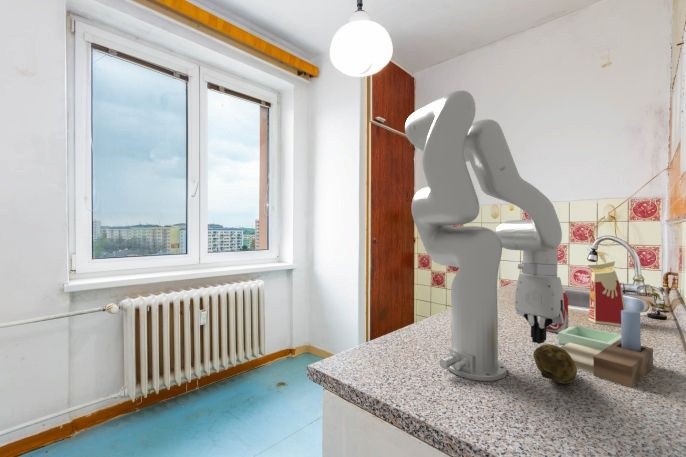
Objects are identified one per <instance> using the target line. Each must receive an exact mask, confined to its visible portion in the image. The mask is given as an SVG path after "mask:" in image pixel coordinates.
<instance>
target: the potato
mask: <svg viewBox="0 0 686 457" xmlns="http://www.w3.org/2000/svg"><path fill="white" fill-rule="evenodd" d="M560 347H561V346H557V345H555V344H549V343H545V344H542V345H541V344H540V346H538V347H536V348H535V349H534V351H533V354H532V356H533V359H534V362H535V365H536V368H537V369H538V370H539V371H540V376H542V377H543V379H549V380H551V381H553V382H554V383H557V384H563V385H565V384H570V383H573V382H574V381H575V379H576V378H577V374H578V368H576V365H575V363H574V361H573V359H572V358H571V356H570V355H569V354H568V353H567V352H566V350H564V349H562V348H560Z"/></svg>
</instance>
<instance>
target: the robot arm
mask: <svg viewBox="0 0 686 457" xmlns="http://www.w3.org/2000/svg"><path fill="white" fill-rule="evenodd" d="M475 117H476V102H475V99H474V96H473V95H472V94H471V93H470V92H469V91H467V90H455V91H452V92H449V93H447V94H445V95H443V96H441V97H439V98H436V100H433V101H432V102H430V103H428V104H426V105H424V106H423V107H421V108H419V109H418V110H416V111H414V112H413V113H411V114H410V115H409V116H408V118H407V119H406V121H405V125H404V134H405V136H406V138H407V140H408V141H409V142H410V143H411V144H412V145H413V146H415V148H417V149H419V150H420V151H422V152H423V153H422V159H421V161H422V170H423V173H424V176H425V179H426V182H427V185H428V186H425V187H423V188H421V189H420V188H419V190H418V191H416V193H415V194H414V195H413V197H412V202H411V216H412V220H413V221H414V224H415V227H416V229H417V232H418V234H419V237H420V240H421V242H422V245H423V247H424V249H425V252H426V253H427V255H428V257H429V258H430V259H431V261H433V262H434V263H435V264H438V265H441V266H445V267H454V268H458V270H457V272H456V274H455V276H454V277H453V280H452V282H451V287H450V304H451V306H450V314H451V316H450V317H451V319H450V321H451V323H450V324H451V327H450V328H451V348H449V354H448V355H446V356H445V357H444V358H441V359H440V360H439V366H440V367H441V368H442V369H448V370H449V371H450V372H451V373H452V374H455V375H456V376H459V377H460V378H461V377H462V378H464V379H469V380H472V381H473V380H474V381H481V382H492V381H493V382H494V381H498V380H501V379H503V378H504V377H505V376H507V366H506V364H504V363H503V362H502V361H501V360H499V333H498V331H499V328H498V326H499V324H498V323H499V320H498V314H499V313H498V311H499V310H498V279H499V278H498V277H499V269H500V268H499V267H500V263H501V260H502V253H503V249H505V250H511V251H521V252H522V251H523V252H522V262H521V263H518V264H517V269H519V270H521V272H522V273H519V274H518V276H517V277H518V278H517V281H516V286H515V293H514V309H515V310H516V311H515V312H516V313H515V314H516V315H519V316H521V317H522V318H524V319H525V320H526V321H527V322H528V325H529V327H530V337H531V340H532V341H531V342H532V343H535V344H538V345H541V344H543V343H545V342H546V341H547V330H546V329H547V327H548V326H549V325H551V324H561V323H563V322H564V320H563V314H564V297H563V291H564V290H563V285H562V284H563V283H562V280H561V277H560V276H558V251H559V250H558V249H559V246H560V245H561V243H562V240H563V239H562V238H563V231H562V227H561V226H562V225H561V223H560V220H559V218H558V214H557V212H556V209H555V207H554V205H553V203H552V202H551V200H550V199H549V198H548V197H547V196H546V195H545V194H544V193H543V192H542V191H541V190H539V189H538V188H536V186H534V185H533V184H532V183H530V182H528V181H526V180H524V179H523V178H522V176H521V175H520V173H519V170H518V168H517V165H516V163H515V161H514V158H513V155H512V153H511V149H510V148H509V145H508V142H507V139H506V136H505V134H504V132H503V129H502V127H501V125H500V124H499V123H498V121H496V120H494V119H480V120H477V121H475ZM467 162H469V163H470V165H471V167H472V170H473V173H474V175H475V178H476V179H477V182H478V184H479V187H480V190H481V191H482V192H483V193H484V194H486V195H487V196H488V197H489V196H490V197H493V198H495V199H498V200H501V201H502V202H503V201H504V202H506V203H509V204H511V205H514V206H516V207H518V208H520V209H521V210H522V212H524V213H526V214H527V216H528V217H529V218H530V219H519V220H518V219H516V220H515V219H514V220H513V219H511V220H506V221H503V222H501V223H500V224H498V225H497V227H495V230H493V229H491V228H488V227H484V226H475V225H471V226H470V225H467V226H466V225H465V224H469V223H472V222H473V221H475V220H476V219H477V218H478V217H479V215H480V203H479V198H478V195H477V192H476V189H475V186H474V184H473V181H472V180H473V179H472V178H471V174H470V172H469V170H468V166H467ZM461 225H463V226H461Z"/></svg>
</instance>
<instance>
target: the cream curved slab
mask: <svg viewBox="0 0 686 457" xmlns="http://www.w3.org/2000/svg"><path fill="white" fill-rule="evenodd" d="M559 347H560V348H562V349H564V350H566V352H567V353H568V354H569V355H570V356H571V358H572V359H573V361H574V363H575V365H576V368H577V370H582V371H585V372H588V373H591V374H594V361H593V357H594V356H595V355H597V354H598V353H600V352H601V351H602V350H598V349H594V348H590V347H586V346H582V345H578V344H574V343H568V344H566V345H562V346H559Z"/></svg>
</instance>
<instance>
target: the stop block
mask: <svg viewBox="0 0 686 457" xmlns="http://www.w3.org/2000/svg"><path fill="white" fill-rule="evenodd" d="M593 361H594V373H593V376H594V377H597V378H600V379H603V380H606V381H609V382H612V383H615V384H619V385H623V386H625V387H629V388H633V387H634V386H635V385H636V384H637V383H638V382H639V381H640V380H641V379H642V378H643V377H644V376H645V375H646V374H647V373H648V372H650V370H651V369H652V368H653V367H654V349H653V348H652V347H648V346H644V345H641V352H638V351H633V350H629V349H625V348H621V341H616V342H615V343H613V344H612V345H610V346H609V347H607V348H606V349H604V350H603V351H601V352H600V353H598V354H597V355H595V356H594V357H593Z"/></svg>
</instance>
